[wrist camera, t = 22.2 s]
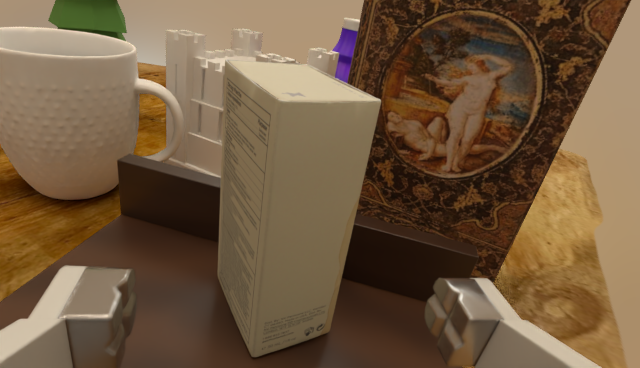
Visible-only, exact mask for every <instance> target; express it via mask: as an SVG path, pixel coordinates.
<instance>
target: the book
mask: <svg viewBox="0 0 640 368" xmlns="http://www.w3.org/2000/svg"><path fill="white" fill-rule="evenodd" d="M630 1H631V0H364V4H363V9H362V13H361V18H360V23H359V28H358V32H357V37H356V42H355V47H354V52H353V57H352V62H351V66H350V71H349V76H348V81H347V84H349V85H351V86H353V87H355V88H357V89H359V90H361V91H363V92H365V93H368V94H369V95H371V96H374V97H375V98H378V99H380V100H381V105H380V109H379V114H378V118H377V123H376V127H375V131H374V135H373V140H372V144H371V149H370V153H369V158H368V162H367V167H366V171H365V175H364V180H363V184H362V189H361V193H360V198H359V203H358V207H357V212H356V214H359V215H362V216H366V217H370V218H374V219H377V220H381V221H385V222H389V223H392V224H396V225H400V226H404V227H407V228H411V229H415V230H419V231H423V232H426V233H430V234H434V235H438V236H441V237H445V238H449V239H453V240H456V241H460V242H464V243H468V244H471V245H475V246H476V248H477V252H478V256H479V258H478V261H477V263H476V265H475V267H474V269H473V272H472V274H471V276H470V278H487V279H488V280H490V281H491V282H492V283H493V282H494V280H495V278H496V276H497V274H498V272H499V270H500V268H501V266H502V264H503V262H504V260H505V258H506V256H507V254H508V252H509V250H510V248H511V246H512V244H513V241H514V239H515V237H516V235H517V233H518V231H519V229H520V227H521V225H522V223H523V221H524V219H525V217H526V215H527V213H528V211H529V209H530V207H531V205H532V202H533V200H534V198H535V196H536V194H537V192H538V190H539V188H540V186H541V184H542V182H543V180H544V178H545V176H546V174H547V172H548V170H549V168H550V166H551V164H552V161H553V159H554V157H555V155H556V153H557V151H558V149H559V147H560V145H561V143H562V141H563V139H564V137H565V135H566V133H567V131H568V129H569V126H570V124H571V122H572V120H573V118H574V116H575V114H576V112H577V110H578V108H579V106H580V104H581V102H582V100H583V98H584V96H585V94H586V92H587V90H588V88H589V85H590V84H591V81H592V79H593V77H594V75H595V73H596V71H597V69H598V67H599V65H600V63H601V61H602V59H603V57H604V55H605V53H606V51H607V49H608V46H609V44H610V42H611V40H612V38H613V36H614V34H615V32H616V30H617V28H618V26H619V24H620V22H621V20H622V18H623V16H624V14H625V12H626V10H627V7H628V5H629V3H630Z"/></svg>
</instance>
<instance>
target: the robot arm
mask: <svg viewBox="0 0 640 368" xmlns="http://www.w3.org/2000/svg"><path fill="white" fill-rule="evenodd" d="M135 282H136V275H135V270H134V269H133V268H116V267H96V266H88V267H87V266H69V265H65V266H63V267H62V268H61V269H59V271H58V272H57V274H56V275H55V277H54V279H53V280H52V282H51V283H50V285H49V286H48V288H47V289H46V291H45V293H44V294H43V296H42V297H41V299H40V300H39V302H38V303H37V305H36V306H35V308H34V310H33V311H32V313H31V314H30V316H29V317H28V319H19V320H17V321H15V322H14V323H12V324H10V325H9V326H7V327H5V328H4V329H2V330H0V368H120V366H121V363H122V360H123V357H124V354H125V351H126V347H125V339H126V338H127V337H128V336H129V335H130V334H131V332H132V329H133V326H134V322H135V316H136V310H137V295H136V294H135V293H134V292H133V288H134V285H135ZM433 290H434V293H435V294H434V295H433V296H431V297H430V298H429V299H428V300H427V303H426V306H425V322H426V325H427V327H428V330H429V332H430V333H431V334H432V335H434V336H435V337H436V338H437V339H438V342H437V348H438V350H439V352H440V354H441V356H442V358H443V360H444V362H445V363H446V365H447V366H475V368H601V367H600V366H598V365H597V364H595V363H593V362H592V361H590V360H589V359H587V358H586V357H584V356H582V355H581V354H579V353H578V352H576V351H574V350H573V349H571V348H570V347H568V346H567V345H565V344H563V343H562V342H560V341H559V340H557V339H555V338H554V337H552V336H551V335H549V334H548V333H546V332H544V331H543V330H541V329H540V328H538V327H536V326H535V325H533V324H532V323H530V322H529V321H527V320H521V319H520V317H519V316H518V315H517V313H516V312H515V311H514V310H513V308H512V307H511V306H510V305H509V303H508V302H507V301H506V299H505V298H504V297H503V296H502V294H501V293H500V292H499V291H498V289H497V288H496V287H495V285H494V284H493V283H492V282H491V281H490V280H488V279H487V278H438V279H437V280H436V281H435V283H434V286H433Z"/></svg>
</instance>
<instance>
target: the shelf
mask: <svg viewBox="0 0 640 368" xmlns="http://www.w3.org/2000/svg"><path fill="white" fill-rule="evenodd" d="M117 166H118V179H119V193H120V206H121V215H120V216H119V217H117V218H116V219H115V220H113V221H112V222H110V223H109V224H108V225H106V226H105V227H103V228H102V229H101V230H99V231H98V232H97V233H95V234H94V235H92V236H91V237H90V238H88V239H87V240H85V241H84V242H83V243H81V244H80V245H78V246H77V247H76V248H74V249H73V250H72V251H70V252H69V253H67V254H66V255H65V256H63V257H62V258H60V259H59V260H58V261H56V262H55V263H54V264H52V265H51V266H49V267H48V268H47V269H45V270H44V271H42V272H41V273H40V274H38V275H37V276H36V277H34V278H33V279H31V280H30V281H29V282H27V283H26V284H24V285H23V286H22V287H20V288H19V289H17V290H16V291H15V292H13V293H12V294H11V295H9V296H8V297H6V298H5V299H4V300H2V301H1V302H0V330H2V329H4V328H5V327H7V326H9V325H10V324H12V323H14V322H15V321H17V320H19V319H28V317H29V316H30V314H31V313H32V311H33V310H34V308H35V306H36V305H37V303H38V302H39V300H40V299H41V297H42V296H43V294H44V293H45V291H46V289H47V288H48V286H49V285H50V283H51V282H52V280H53V279H54V277H55V275H56V274H57V272H58V271H59V269H61V268H62V267H63V266H65V265H69V266H87V267H88V266H96V267H116V268H133V269H134V270H135V275H136V282H135V285H134V288H133V292H134V293H135V294H136V295H137V310H136V316H135V322H134V326H133V329H132V332H131V334H130V335H129V336H128V337H127V338H126V339H125V347H126V351H125V354H124V357H123V360H122V363H121V366H120V368H462V366H447V365H446V363H445V362H444V360H443V358H442V356H441V354H440V352H439V350H438V348H437V342H438V339H437V338H436V337H435V336H434V335H432V334H431V333H430V332H429V330H428V327H427V325H426V322H425V306H426V303H427V300H428V299H429V298H430V297H431V296H433V295H434V294H435V293H434V290H433V286H434V283H435V281H436V280H437V279H438V278H470V276H471V274H472V272H473V269H474V267H475V265H476V263H477V261H478V258H479V256H478V252H477V248H476V246H475V245H471V244H468V243H464V242H460V241H456V240H453V239H449V238H445V237H441V236H438V235H434V234H430V233H426V232H423V231H419V230H415V229H411V228H407V227H404V226H400V225H396V224H392V223H389V222H385V221H381V220H377V219H374V218H370V217H366V216H362V215H359V214H356V216H355V220H354V225H353V230H352V234H351V239H350V243H349V247H348V252H347V256H346V261H345V265H344V270H343V274H342V279H341V283H340V287H339V292H338V296H337V301H336V305H335V310H334V314H333V318H332V323H331V328H330V331H329V332H328V333H326V334H323V335H320V336H318V337H315V338H312V339H309V340H307V341H304V342H301V343H298V344H295V345H292V346H289V347H286V348H283V349H280V350H277V351H274V352H271V353H267V354H264V355H261V356H259V357H252V356H251V354H250V352H249V350H248V348H247V346H246V344H245V341H244V339H243V337H242V335H241V333H240V330H239V328H238V326H237V323H236V321H235V319H234V316H233V314H232V311H231V309H230V307H229V304H228V302H227V299H226V297H225V295H224V292H223V289H222V287H221V284H220V282H219V279H218V272H217V271H218V246H219V217H220V189H221V178H220V177H216V176H212V175H208V174H205V173H201V172H197V171H193V170H190V169H186V168H182V167H178V166H175V165H171V164H167V163H163V162H160V161H156V160H152V159H148V158H145V157H141V156H137V155H133V154H128V155H126V156H124V157H122V158H120V159H118V160H117Z"/></svg>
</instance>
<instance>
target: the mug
mask: <svg viewBox="0 0 640 368" xmlns="http://www.w3.org/2000/svg"><path fill="white" fill-rule="evenodd" d="M139 94H152V95H155V96H157V97H159V98H160V99H161V100H163V101H164V103H165V104H166V105H167V107H168V108H169V110H170V112H171V115H172V118H173V123H174V132H173V136H172V139H171V141H170V143H169V145H168V146H167V147H166V148H165V149H164V150H162V151H161V152H159V153H157V154H154V155H151V156H143V157H145V158H148V159H152V160H156V161H160V162H164V161H166V160H168V159H169V158H170V157H172V156H173V155H174V153H175V152H176V151H177V150H178V148H179V146H180V144H181V141H182V138H183V133H184V119H183V114H182V110H181V108H180V105H179V103H178V102H177V100H176V98H175V97H174V96H173V95H172V93H171V92H170V91H169V90H167V89H166V88H165V87H163V86H161V85H159V84H157V83H155V82H152V81H149V80H145V79H139V78H138V67H137V51H136V48H135V46H134V45H132V44H130V43H128V42H126V41H123V40H120V39H117V38H113V37H109V36H104V35H99V34H94V33H87V32H80V31H72V30H63V29H52V28H36V27H0V144H1V147H2V149H3V150H4V152H5V154H6V155H7V157H8V158H9V160H10V162H11V163H12V165H13V166H14V167H15V170H16V171H18V173H19V175H20V176H22V178H23V179H24V180H25V181H26V182H27V183H28V184H29V185H30V186H32V187H33V188H34V189H35V190H37V191H38V192H39V193H41V194H43V195H45V196H48V197H50V198H55V199H62V200H80V199H88V198H93V197H97V196H100V195H102V194H105V193H107V192H109V191H110V190H112V189H113V188H114V187H115V186H116V185H118V183H119V179H118V166H117V160H118V159H120V158H122V157H124V156H126V155H128V154H133V151H134V148H135V147H136V139H137V134H138V126H139V125H138V121H139V106H140V105H139Z"/></svg>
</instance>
